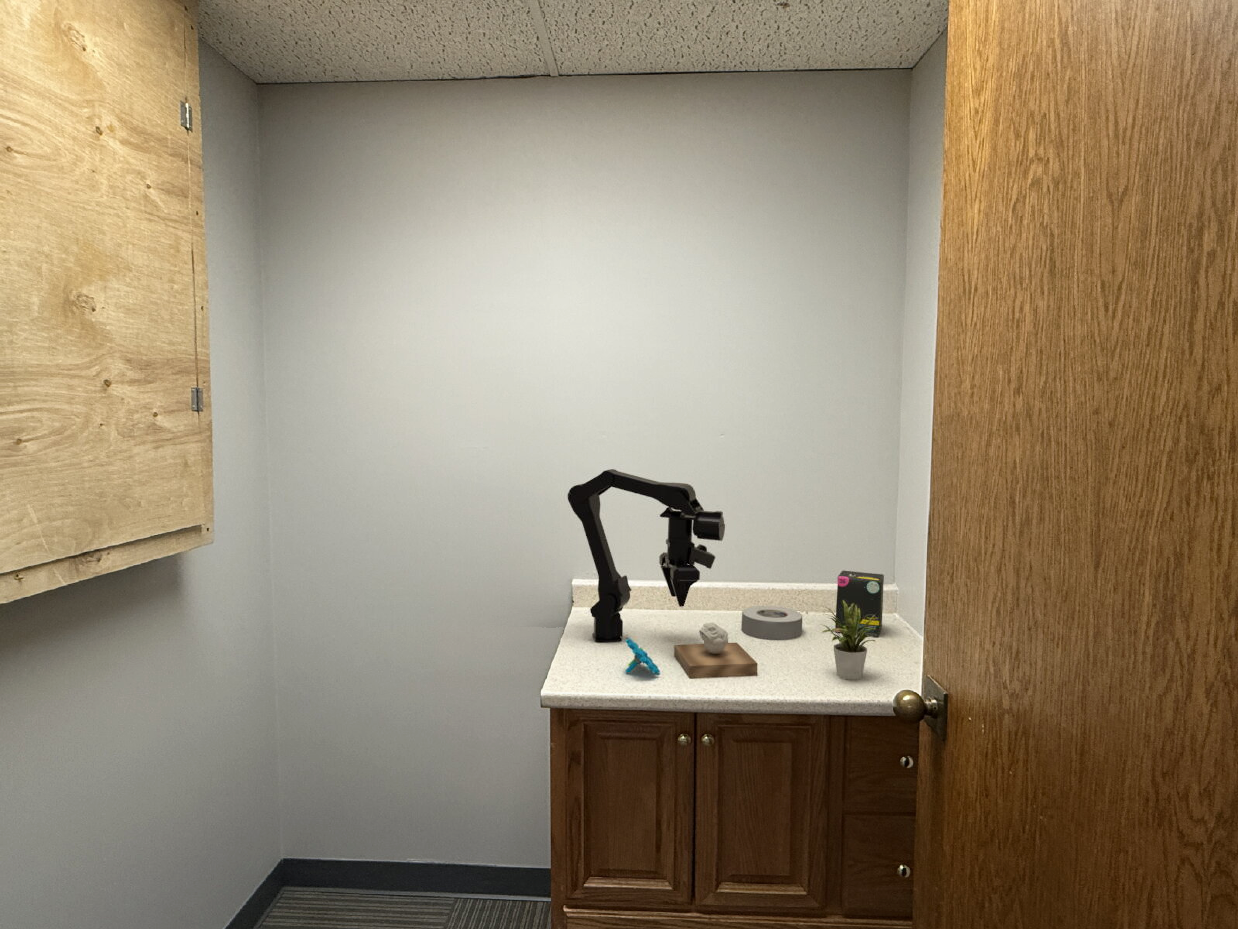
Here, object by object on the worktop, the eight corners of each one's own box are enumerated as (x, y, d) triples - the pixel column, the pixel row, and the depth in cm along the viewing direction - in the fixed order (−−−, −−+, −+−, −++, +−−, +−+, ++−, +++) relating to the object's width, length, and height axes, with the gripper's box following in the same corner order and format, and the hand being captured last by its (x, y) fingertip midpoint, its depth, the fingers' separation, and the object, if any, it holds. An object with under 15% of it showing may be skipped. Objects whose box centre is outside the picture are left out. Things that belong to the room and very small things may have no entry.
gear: (663, 674, 169) (629, 640, 169) (642, 694, 168) (609, 659, 169) (661, 664, 180) (630, 632, 180) (642, 683, 179) (611, 650, 180)
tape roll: (810, 630, 209) (810, 611, 208) (789, 645, 196) (790, 624, 196) (755, 621, 217) (755, 602, 217) (731, 634, 204) (732, 615, 204)
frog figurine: (693, 651, 181) (694, 620, 180) (720, 648, 183) (721, 618, 183) (706, 659, 175) (707, 628, 175) (733, 656, 178) (735, 625, 177)
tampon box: (834, 632, 206) (836, 576, 205) (839, 623, 214) (841, 569, 213) (879, 638, 202) (881, 581, 201) (882, 628, 210) (884, 573, 209)
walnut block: (689, 682, 171) (689, 666, 171) (674, 659, 186) (674, 644, 185) (757, 679, 173) (757, 663, 173) (736, 657, 188) (736, 642, 188)
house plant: (804, 663, 181) (806, 592, 180) (864, 663, 182) (866, 592, 181) (823, 686, 167) (826, 609, 166) (888, 685, 168) (891, 608, 167)
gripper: (722, 544, 182) (720, 611, 183) (703, 530, 201) (701, 591, 202) (674, 544, 181) (672, 612, 182) (659, 530, 199) (657, 591, 200)
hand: (677, 601), depth 192 cm, fingers open, 9 cm apart
